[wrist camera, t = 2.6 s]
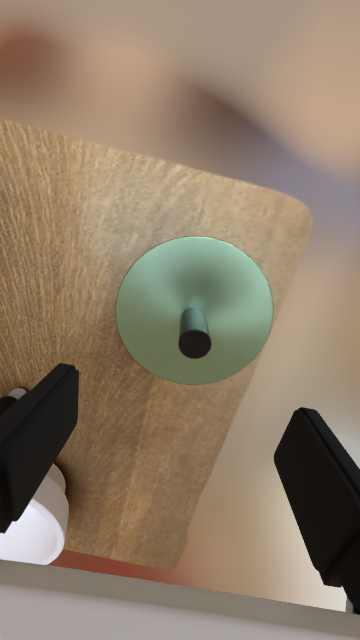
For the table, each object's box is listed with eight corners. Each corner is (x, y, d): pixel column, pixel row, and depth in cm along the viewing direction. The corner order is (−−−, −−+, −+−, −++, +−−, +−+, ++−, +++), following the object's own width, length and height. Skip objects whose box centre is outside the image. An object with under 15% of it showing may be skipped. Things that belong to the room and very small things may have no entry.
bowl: (103, 455, 38) (81, 512, 30) (69, 524, 46) (45, 585, 38) (-31, 407, 35) (-94, 456, 27) (-43, 490, 43) (-95, 547, 35)
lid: (126, 220, 19) (99, 214, 13) (292, 253, 19) (336, 261, 14) (113, 365, 24) (90, 406, 18) (244, 388, 25) (261, 435, 19)
